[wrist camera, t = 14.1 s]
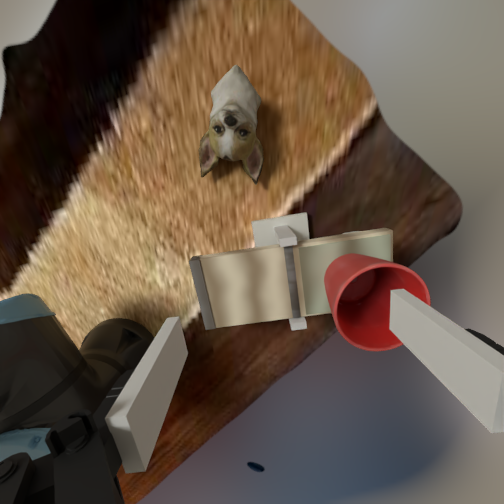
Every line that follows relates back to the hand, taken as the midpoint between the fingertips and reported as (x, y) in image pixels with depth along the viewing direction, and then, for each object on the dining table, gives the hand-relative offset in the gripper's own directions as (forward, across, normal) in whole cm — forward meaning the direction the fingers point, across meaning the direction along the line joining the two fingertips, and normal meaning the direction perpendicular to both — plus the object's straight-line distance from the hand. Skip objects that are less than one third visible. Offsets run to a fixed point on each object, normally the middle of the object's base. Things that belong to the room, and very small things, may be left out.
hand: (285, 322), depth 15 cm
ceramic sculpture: (+31, -2, +17) cm, 35 cm away
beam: (+23, +4, -7) cm, 24 cm away
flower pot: (+20, +12, -7) cm, 24 cm away
